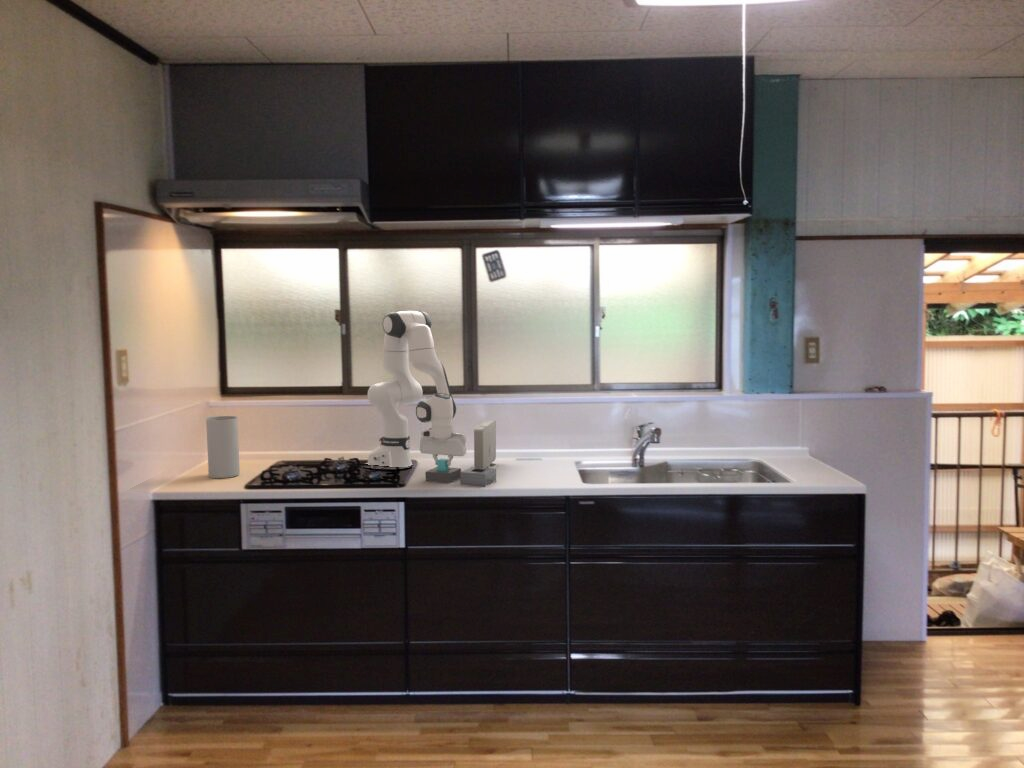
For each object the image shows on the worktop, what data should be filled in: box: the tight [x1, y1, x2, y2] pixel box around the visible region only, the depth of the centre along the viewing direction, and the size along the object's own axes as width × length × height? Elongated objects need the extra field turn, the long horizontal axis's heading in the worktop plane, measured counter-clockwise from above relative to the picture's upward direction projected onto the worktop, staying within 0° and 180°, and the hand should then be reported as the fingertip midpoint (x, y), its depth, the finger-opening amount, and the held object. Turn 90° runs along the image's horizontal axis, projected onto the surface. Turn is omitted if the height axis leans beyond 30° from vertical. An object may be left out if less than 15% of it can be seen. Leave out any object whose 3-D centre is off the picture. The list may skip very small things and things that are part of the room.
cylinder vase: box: [205, 415, 241, 479], centre depth 328 cm, size 12×12×25 cm
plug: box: [436, 458, 450, 472], centre depth 320 cm, size 4×4×8 cm
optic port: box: [459, 466, 497, 487], centre depth 315 cm, size 11×11×5 cm
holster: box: [424, 466, 462, 484], centre depth 321 cm, size 11×11×4 cm
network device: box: [473, 420, 499, 469], centre depth 341 cm, size 26×9×20 cm, turn 168°
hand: (443, 465), depth 320 cm, fingers closed on plug, 3 cm apart
